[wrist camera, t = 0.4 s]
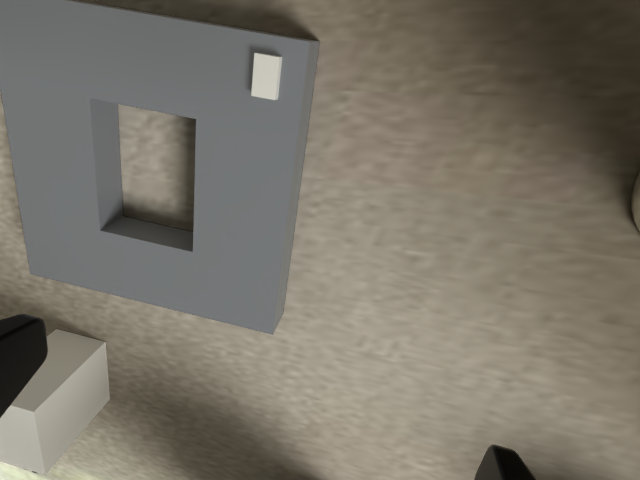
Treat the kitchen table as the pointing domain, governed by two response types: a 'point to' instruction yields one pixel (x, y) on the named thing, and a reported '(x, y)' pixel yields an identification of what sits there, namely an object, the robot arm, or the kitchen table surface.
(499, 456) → the robot arm
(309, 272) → the kitchen table surface
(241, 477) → the kitchen table surface
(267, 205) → the socket plate
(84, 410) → the plug
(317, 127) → the kitchen table surface
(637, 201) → the beer glass
